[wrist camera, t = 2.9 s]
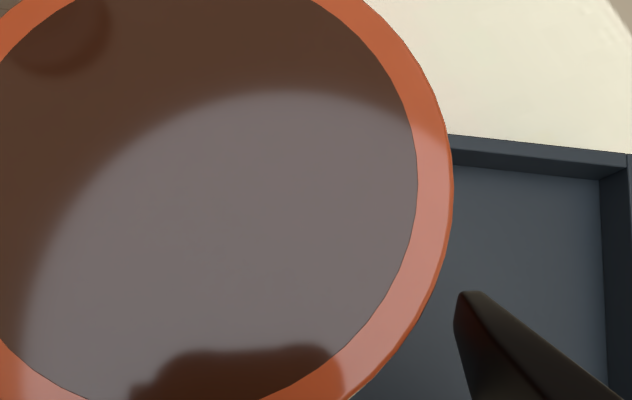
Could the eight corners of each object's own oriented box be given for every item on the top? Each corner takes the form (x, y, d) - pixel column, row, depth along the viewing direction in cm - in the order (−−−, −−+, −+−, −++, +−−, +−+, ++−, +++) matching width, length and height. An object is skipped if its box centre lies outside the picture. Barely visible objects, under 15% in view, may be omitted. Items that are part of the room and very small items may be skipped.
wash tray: (99, 410, 18) (71, 423, 15) (153, 122, 20) (136, 98, 18) (618, 459, 18) (664, 479, 16) (604, 172, 21) (642, 154, 18)
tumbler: (281, 399, 17) (255, 603, 5) (130, 293, 18) (-224, 239, 6) (379, 244, 19) (547, 105, 7) (237, 151, 20) (144, -139, 7)
